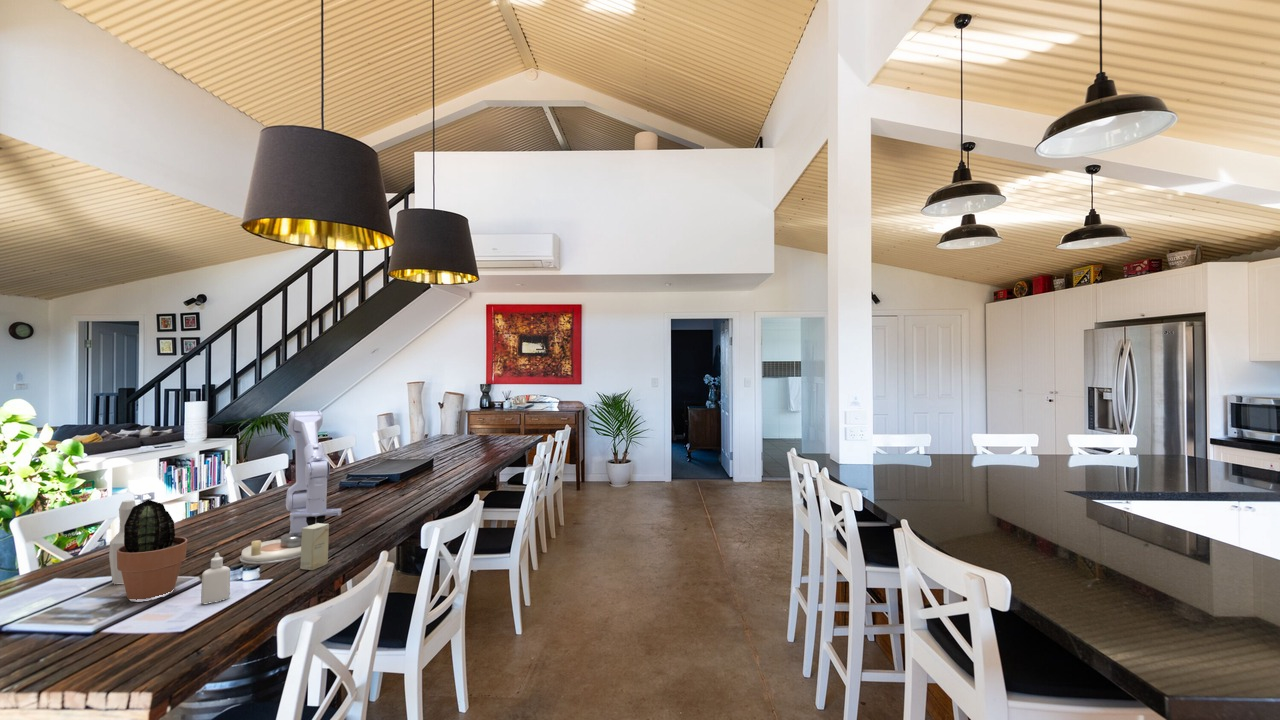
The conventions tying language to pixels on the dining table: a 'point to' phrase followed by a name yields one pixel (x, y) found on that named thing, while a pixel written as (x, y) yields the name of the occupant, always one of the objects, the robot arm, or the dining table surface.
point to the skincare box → (314, 546)
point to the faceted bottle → (119, 540)
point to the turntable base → (268, 561)
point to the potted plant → (150, 552)
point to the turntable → (268, 551)
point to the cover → (291, 540)
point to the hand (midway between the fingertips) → (315, 539)
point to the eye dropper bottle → (215, 581)
